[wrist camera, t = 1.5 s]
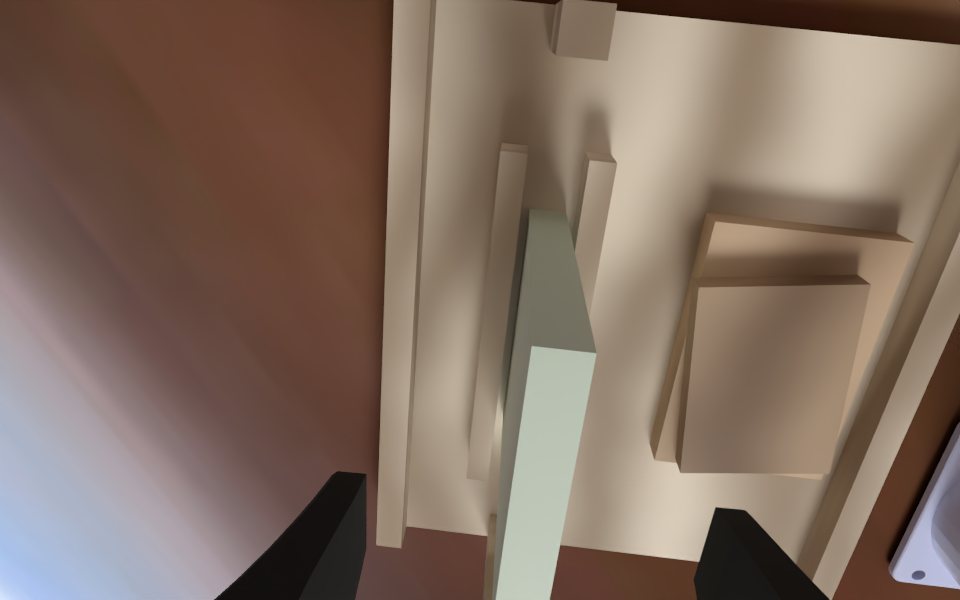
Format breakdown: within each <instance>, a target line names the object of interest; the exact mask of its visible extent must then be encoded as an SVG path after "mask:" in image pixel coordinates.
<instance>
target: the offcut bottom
mask: <svg viewBox="0 0 960 600" xmlns="http://www.w3.org/2000/svg"><path fill="white" fill-rule="evenodd" d="M914 244H915V243H914V242H912V241H910V240H909V239H907V238H905V237H903V236H901V235H900V234H898V233H892V232H882V231H873V230H864V229H855V228H845V227H836V226H827V225H817V224H808V223H799V222H789V221H780V220H771V219H761V218H752V217H743V216H733V215H724V214H715V213H706V217H705V221H704V225H703V229H702V233H701V237H700V241H699V245H698V249H697V253H696V257H695V261H694V265H693V269H692V273H691V277H690V281H689V285H688V290H687V294H686V298H685V302H684V306H683V310H682V314H681V318H680V322H679V326H678V330H677V334H676V338H675V342H674V346H673V350H672V354H671V358H670V362H669V366H668V370H667V375H666V379H665V383H664V387H663V391H662V395H661V399H660V403H659V407H658V411H657V415H656V419H655V423H654V427H653V431H652V435H651V439H650V443H649V444H650V447H651V450H652V454H653V457H654V460H655V461H664V462H672V463H677V462H676V459H675V456H676V445H677V435H678V424H679V413H680V403H681V392H682V382H683V371H684V361H685V350H686V339H687V329H688V318H689V308H690V297H691V286H692V278H713V277H765V276H818V275H859V276H860V277H862V278H863V279H864V280H866V281H867V282H868V283H870V284H871V286H870V291H869V296H868V300H867V305H866V309H865V314H864V319H863V323H862V328H861V332H860V337H859V342H858V346H857V351H856V355H855V360H854V364H853V369H852V374H851V378H850V383H849V387H848V392H847V397H846V401H845V406H844V410H843V415H842V420H841V424H840V429H839V433H838V437H839V434H840V432H841V429H842V427H843V424H844V422H845V419H846V416H847V414H848V411H849V409H850V406H851V404H852V401H853V399H854V396H855V394H856V391H857V389H858V386H859V384H860V381H861V379H862V376H863V373H864V371H865V368H866V366H867V363H868V361H869V358H870V356H871V353H872V351H873V348H874V346H875V343H876V341H877V338H878V336H879V333H880V330H881V328H882V325H883V323H884V320H885V318H886V315H887V313H888V310H889V308H890V305H891V303H892V300H893V298H894V295H895V293H896V290H897V287H898V285H899V282H900V280H901V277H902V275H903V272H904V270H905V267H906V265H907V262H908V260H909V257H910V255H911V252H912V250H913V247H914ZM837 439H838V438H837ZM774 475H783V476H791V477H800V478H808V479H817V480H822V477H823V475H824V474H774Z"/></svg>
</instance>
